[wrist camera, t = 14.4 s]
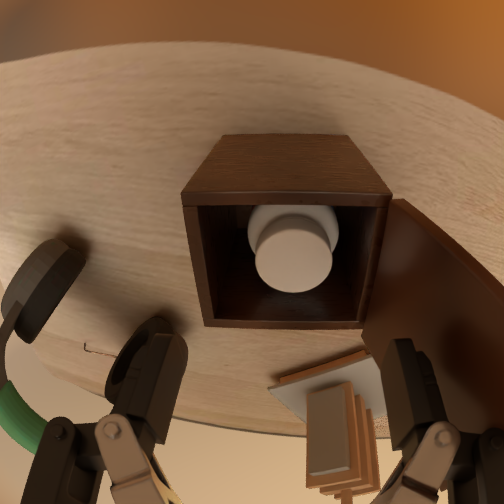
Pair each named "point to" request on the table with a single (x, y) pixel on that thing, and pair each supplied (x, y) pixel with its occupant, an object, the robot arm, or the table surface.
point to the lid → (441, 316)
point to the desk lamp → (338, 423)
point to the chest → (283, 193)
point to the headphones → (34, 318)
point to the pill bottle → (293, 244)
